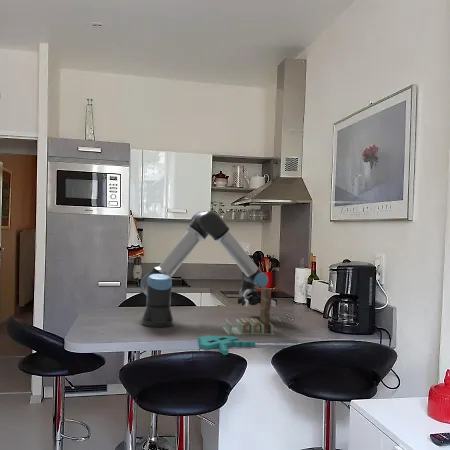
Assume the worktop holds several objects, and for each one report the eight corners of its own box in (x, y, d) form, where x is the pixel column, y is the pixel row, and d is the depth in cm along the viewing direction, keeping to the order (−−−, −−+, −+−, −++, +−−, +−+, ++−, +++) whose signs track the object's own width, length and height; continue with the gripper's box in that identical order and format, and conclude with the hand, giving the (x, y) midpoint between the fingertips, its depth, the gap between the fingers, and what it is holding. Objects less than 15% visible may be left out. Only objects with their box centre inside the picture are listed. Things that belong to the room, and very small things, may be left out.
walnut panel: (263, 333, 212) (265, 289, 212) (259, 328, 220) (261, 286, 220) (268, 333, 212) (271, 289, 212) (264, 329, 220) (266, 287, 220)
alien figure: (255, 347, 192) (218, 337, 205) (255, 342, 192) (218, 332, 205) (224, 356, 177) (186, 345, 189) (224, 350, 177) (187, 340, 189)
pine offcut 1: (242, 332, 211) (243, 321, 211) (239, 328, 218) (240, 318, 218) (249, 332, 211) (249, 321, 211) (245, 328, 219) (246, 318, 219)
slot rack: (227, 336, 207) (227, 324, 207) (222, 329, 220) (223, 318, 220) (274, 336, 210) (275, 325, 210) (267, 329, 223) (268, 319, 223)
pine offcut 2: (253, 332, 211) (253, 321, 211) (249, 328, 219) (250, 318, 219) (259, 332, 212) (260, 322, 212) (255, 328, 220) (256, 318, 220)
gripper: (274, 304, 248) (285, 312, 227) (228, 303, 243) (235, 311, 222) (274, 290, 248) (286, 297, 227) (228, 289, 243) (236, 296, 222)
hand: (261, 304), depth 225 cm, fingers open, 13 cm apart
